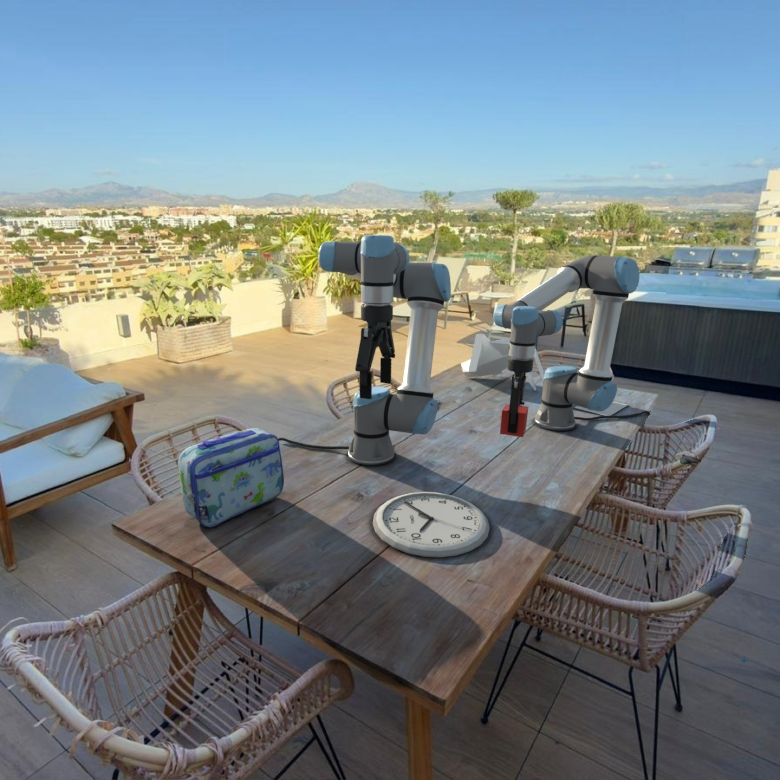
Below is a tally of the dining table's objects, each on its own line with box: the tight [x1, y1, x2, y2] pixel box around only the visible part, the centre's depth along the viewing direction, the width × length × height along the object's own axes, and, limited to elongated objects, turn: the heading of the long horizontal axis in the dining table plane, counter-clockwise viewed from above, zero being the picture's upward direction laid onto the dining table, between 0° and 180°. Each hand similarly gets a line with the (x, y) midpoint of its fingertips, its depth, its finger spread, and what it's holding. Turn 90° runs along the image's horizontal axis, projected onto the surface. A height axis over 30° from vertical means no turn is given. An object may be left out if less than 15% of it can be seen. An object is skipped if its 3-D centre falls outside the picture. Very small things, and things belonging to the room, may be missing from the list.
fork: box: [434, 395, 442, 404], centre depth 223 cm, size 3×16×2 cm, turn 160°
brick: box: [499, 403, 529, 438], centre depth 165 cm, size 7×7×8 cm
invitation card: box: [573, 400, 629, 416], centre depth 226 cm, size 21×1×15 cm
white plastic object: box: [460, 333, 545, 391], centre depth 258 cm, size 37×45×31 cm
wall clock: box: [372, 491, 490, 558], centre depth 135 cm, size 30×2×30 cm
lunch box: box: [177, 427, 285, 528], centre depth 137 cm, size 26×11×21 cm, turn 134°
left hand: (376, 390), depth 129 cm, fingers open, 13 cm apart
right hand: (513, 428), depth 166 cm, fingers closed on brick, 7 cm apart
